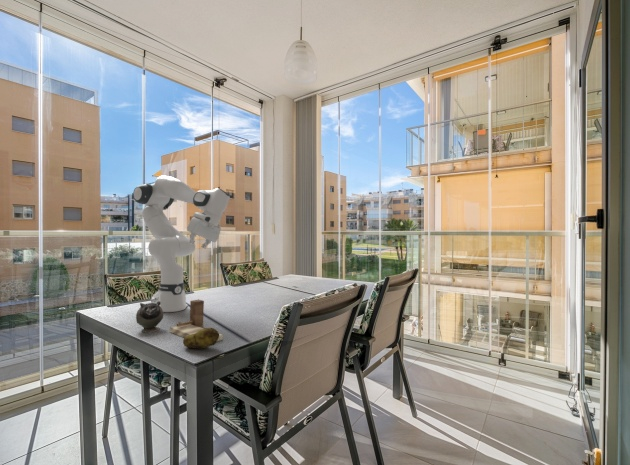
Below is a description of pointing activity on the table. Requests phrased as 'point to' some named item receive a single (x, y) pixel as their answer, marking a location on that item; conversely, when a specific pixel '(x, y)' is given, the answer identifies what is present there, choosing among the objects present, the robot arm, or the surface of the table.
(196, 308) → the wooden block
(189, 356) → the table surface
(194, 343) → the potato
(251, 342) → the table surface
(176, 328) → the plank
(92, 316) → the table surface
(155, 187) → the robot arm
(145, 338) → the table surface
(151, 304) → the round clay pot
